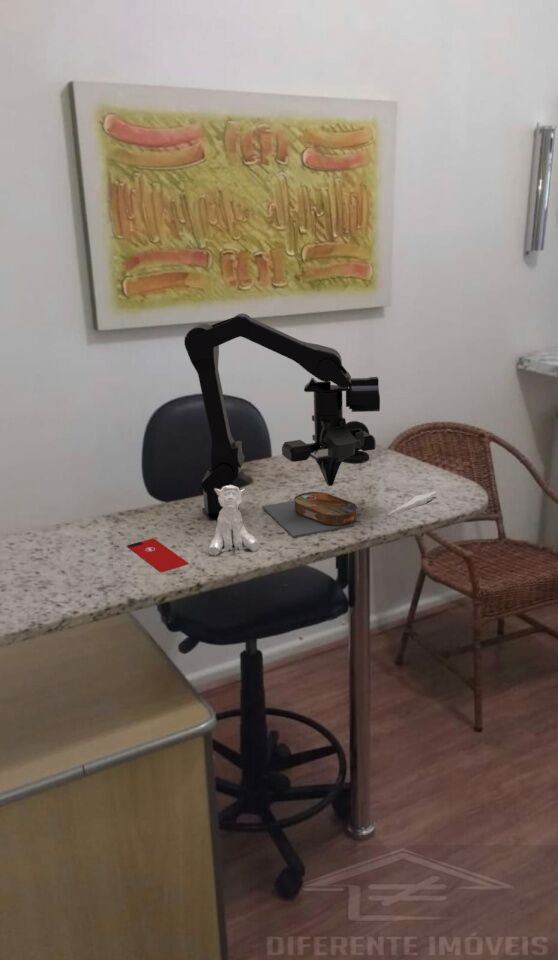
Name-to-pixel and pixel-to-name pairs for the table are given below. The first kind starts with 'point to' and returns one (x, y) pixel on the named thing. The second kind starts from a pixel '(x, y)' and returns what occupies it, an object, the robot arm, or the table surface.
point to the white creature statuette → (231, 524)
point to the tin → (325, 508)
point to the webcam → (358, 455)
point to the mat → (297, 520)
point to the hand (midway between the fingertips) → (329, 485)
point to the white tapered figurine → (415, 502)
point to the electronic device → (157, 555)
